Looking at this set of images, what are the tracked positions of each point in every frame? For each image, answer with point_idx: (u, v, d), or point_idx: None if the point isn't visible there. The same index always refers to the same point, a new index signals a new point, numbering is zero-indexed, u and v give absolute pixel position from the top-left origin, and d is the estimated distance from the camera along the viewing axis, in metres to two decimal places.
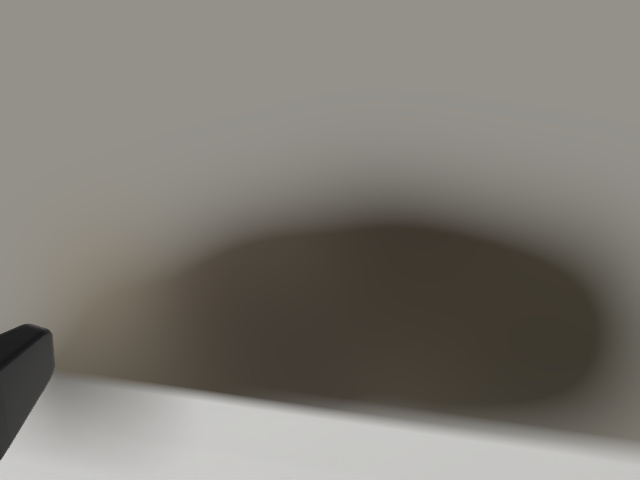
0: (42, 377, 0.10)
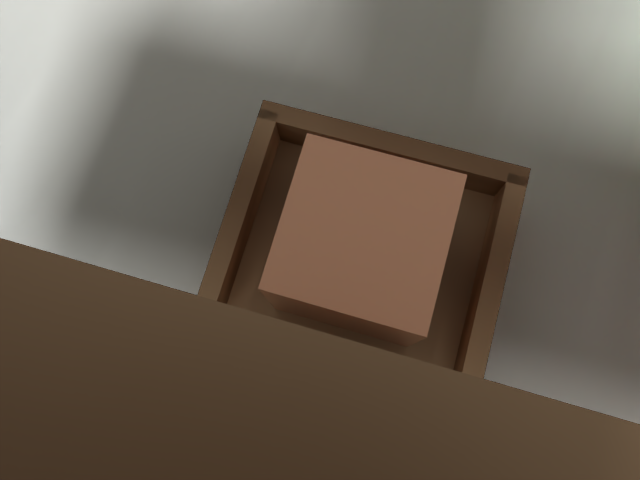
0: None
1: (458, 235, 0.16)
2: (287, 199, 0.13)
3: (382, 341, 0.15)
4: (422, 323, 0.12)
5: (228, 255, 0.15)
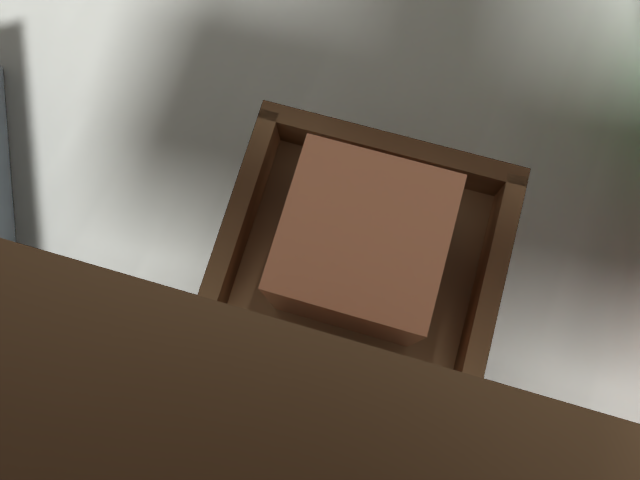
0: None
1: (458, 235, 0.16)
2: (287, 199, 0.13)
3: (382, 341, 0.15)
4: (422, 323, 0.12)
5: (228, 255, 0.15)
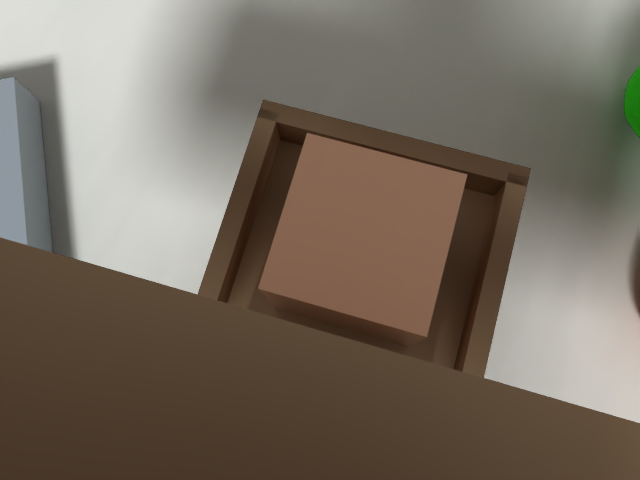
0: None
1: (458, 235, 0.16)
2: (287, 199, 0.13)
3: (382, 341, 0.15)
4: (422, 323, 0.12)
5: (228, 255, 0.15)
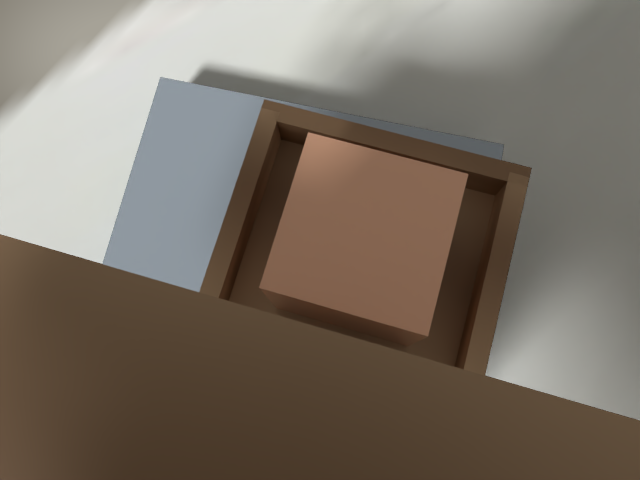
0: None
1: (459, 235, 0.16)
2: (288, 198, 0.13)
3: (383, 340, 0.15)
4: (423, 322, 0.12)
5: (229, 255, 0.15)
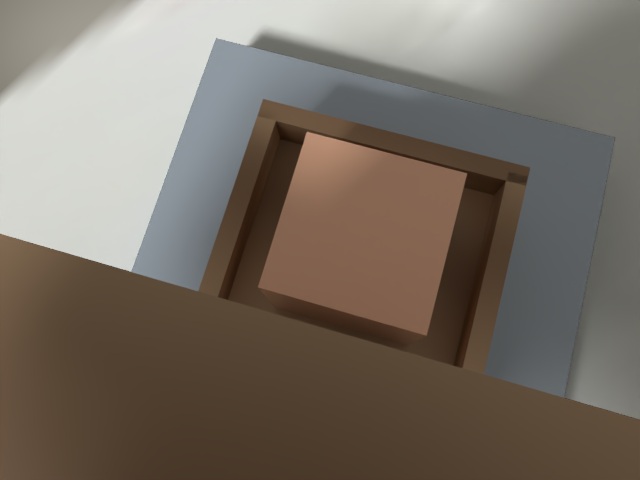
0: None
1: (458, 235, 0.16)
2: (287, 198, 0.13)
3: (382, 340, 0.15)
4: (422, 321, 0.12)
5: (228, 255, 0.15)
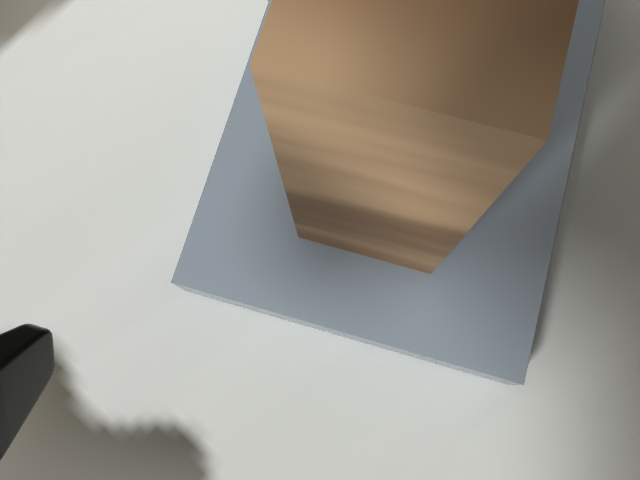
0: (42, 377, 0.10)
1: None
2: None
3: None
4: None
5: None
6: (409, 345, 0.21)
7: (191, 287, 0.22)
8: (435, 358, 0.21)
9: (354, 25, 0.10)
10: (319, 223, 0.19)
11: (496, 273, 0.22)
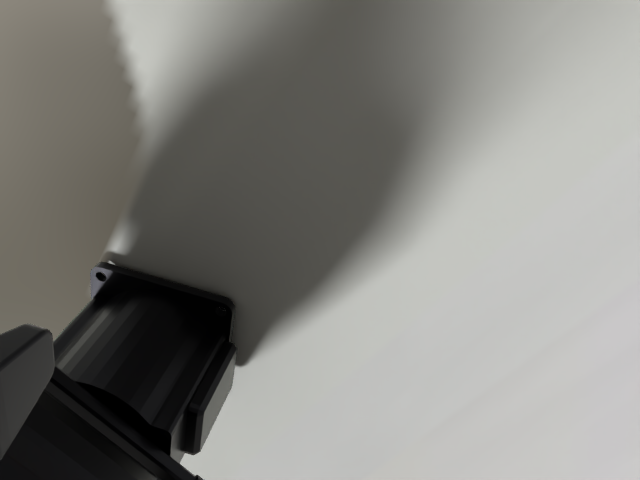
0: (42, 377, 0.10)
1: None
2: None
3: None
4: None
5: None
6: None
7: None
8: None
9: None
10: None
11: None
